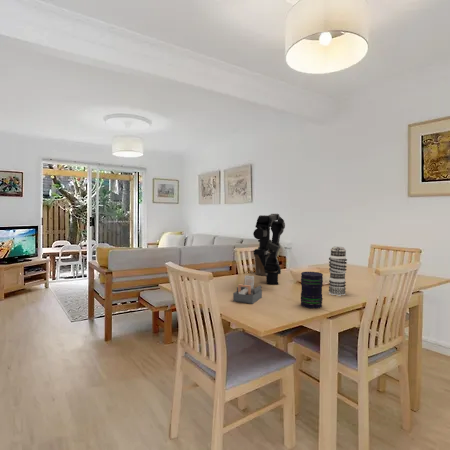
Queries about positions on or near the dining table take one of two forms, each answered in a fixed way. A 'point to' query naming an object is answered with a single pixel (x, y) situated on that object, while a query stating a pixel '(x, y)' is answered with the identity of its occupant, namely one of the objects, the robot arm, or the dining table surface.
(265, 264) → the robot arm
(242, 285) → the lug
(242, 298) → the grey walled tray
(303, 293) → the storage jar
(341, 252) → the decorative candle
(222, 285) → the dining table surface
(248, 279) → the tapered wooden notched block
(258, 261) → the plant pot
